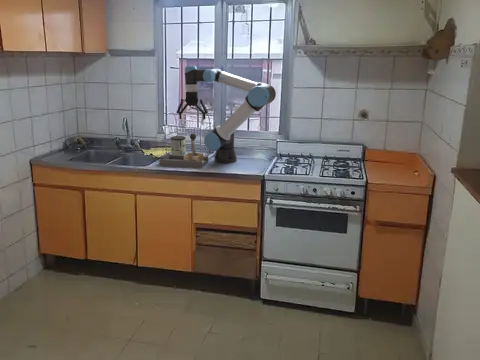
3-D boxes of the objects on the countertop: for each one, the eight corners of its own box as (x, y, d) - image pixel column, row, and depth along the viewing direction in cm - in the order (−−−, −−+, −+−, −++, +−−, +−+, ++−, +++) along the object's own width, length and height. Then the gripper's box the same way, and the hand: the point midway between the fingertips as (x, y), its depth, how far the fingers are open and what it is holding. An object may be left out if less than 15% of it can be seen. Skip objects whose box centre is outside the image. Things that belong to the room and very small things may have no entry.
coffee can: (173, 155, 316) (172, 135, 313) (187, 155, 316) (186, 136, 312) (169, 158, 307) (168, 138, 303) (184, 159, 306) (183, 138, 302)
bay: (208, 162, 298) (208, 154, 296) (201, 168, 283) (201, 159, 281) (168, 160, 303) (168, 152, 302) (159, 165, 288) (159, 157, 287)
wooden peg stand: (203, 160, 295) (202, 132, 290) (198, 164, 285) (197, 135, 280) (189, 159, 297) (188, 131, 292) (183, 163, 287) (182, 134, 282)
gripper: (170, 91, 282) (172, 125, 288) (209, 91, 279) (210, 125, 285) (174, 90, 289) (175, 123, 295) (211, 90, 286) (212, 123, 292)
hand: (192, 124), depth 290 cm, fingers open, 13 cm apart
